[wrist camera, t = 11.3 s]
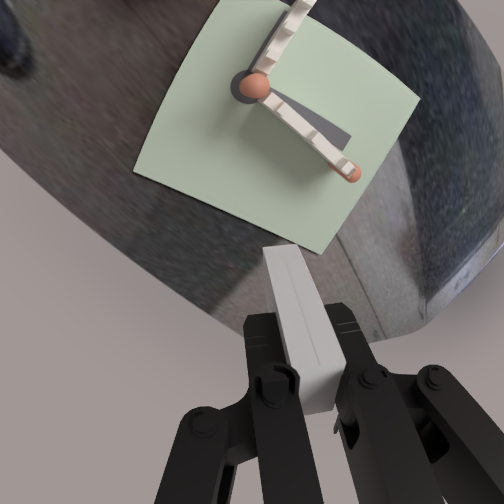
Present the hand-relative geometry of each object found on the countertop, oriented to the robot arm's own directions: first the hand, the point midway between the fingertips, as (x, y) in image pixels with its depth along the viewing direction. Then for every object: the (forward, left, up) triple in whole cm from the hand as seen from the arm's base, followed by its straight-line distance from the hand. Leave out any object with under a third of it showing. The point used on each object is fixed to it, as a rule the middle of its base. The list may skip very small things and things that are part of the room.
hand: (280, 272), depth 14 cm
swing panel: (+3, +6, -20) cm, 21 cm away
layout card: (+1, +6, -20) cm, 21 cm away
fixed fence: (-4, +12, -20) cm, 24 cm away
